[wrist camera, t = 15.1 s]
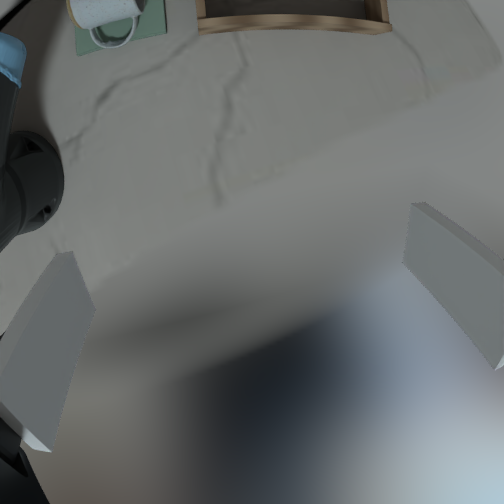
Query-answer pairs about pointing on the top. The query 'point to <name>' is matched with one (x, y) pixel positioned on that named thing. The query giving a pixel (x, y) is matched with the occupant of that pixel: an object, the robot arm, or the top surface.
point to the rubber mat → (125, 28)
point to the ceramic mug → (104, 16)
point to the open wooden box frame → (298, 21)
